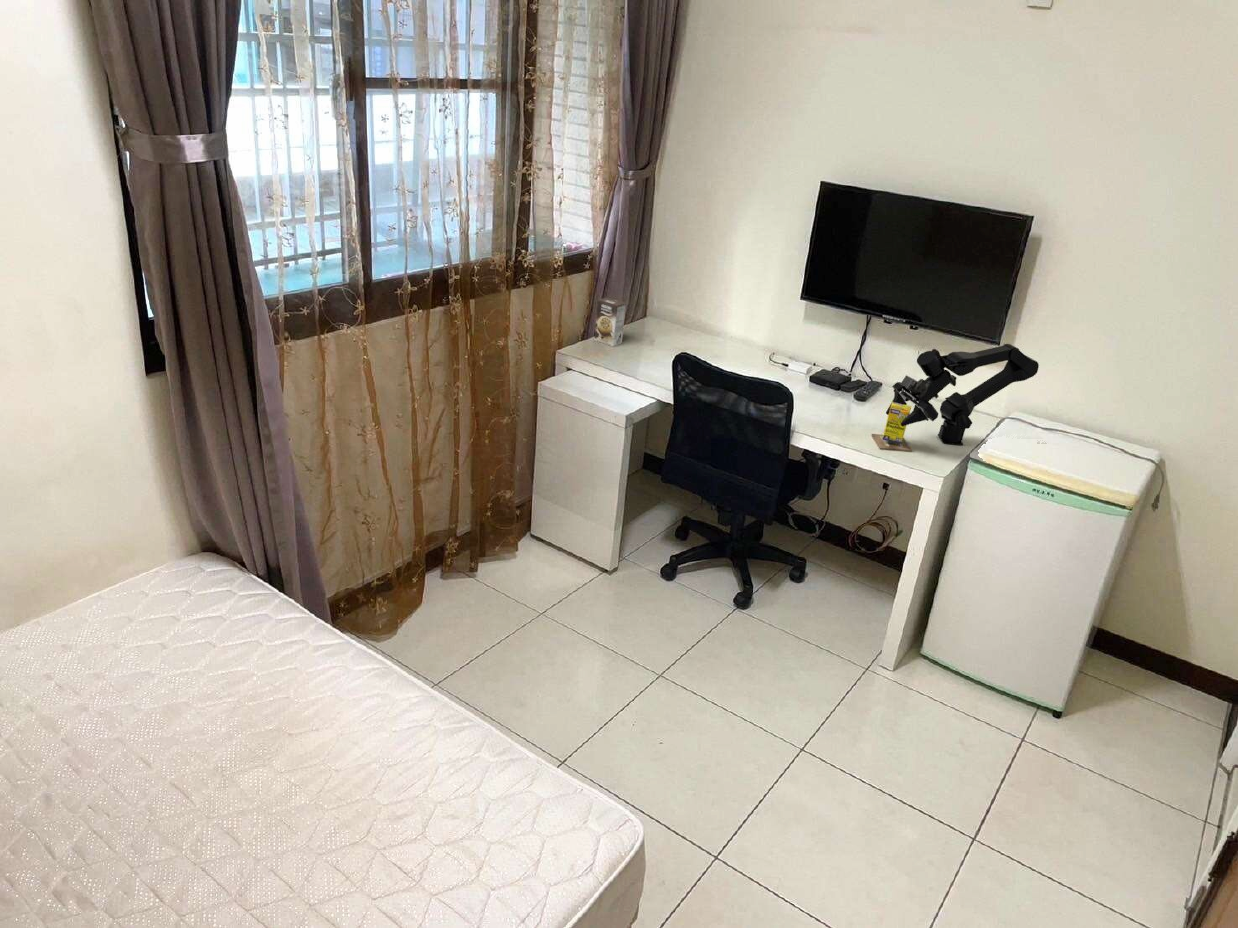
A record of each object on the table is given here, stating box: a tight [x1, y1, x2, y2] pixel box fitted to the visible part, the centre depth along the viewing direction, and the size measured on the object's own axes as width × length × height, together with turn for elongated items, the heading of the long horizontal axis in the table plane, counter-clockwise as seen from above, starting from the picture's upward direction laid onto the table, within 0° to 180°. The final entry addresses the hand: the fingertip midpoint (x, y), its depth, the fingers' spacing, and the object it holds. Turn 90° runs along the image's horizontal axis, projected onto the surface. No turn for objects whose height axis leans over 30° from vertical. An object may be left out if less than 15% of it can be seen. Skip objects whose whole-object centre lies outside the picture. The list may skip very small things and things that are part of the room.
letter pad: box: [870, 433, 912, 453], centre depth 279 cm, size 10×10×1 cm
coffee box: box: [594, 296, 627, 347], centre depth 335 cm, size 9×6×16 cm
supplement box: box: [882, 401, 912, 444], centre depth 276 cm, size 6×6×11 cm
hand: (893, 419), depth 275 cm, fingers closed on supplement box, 8 cm apart
